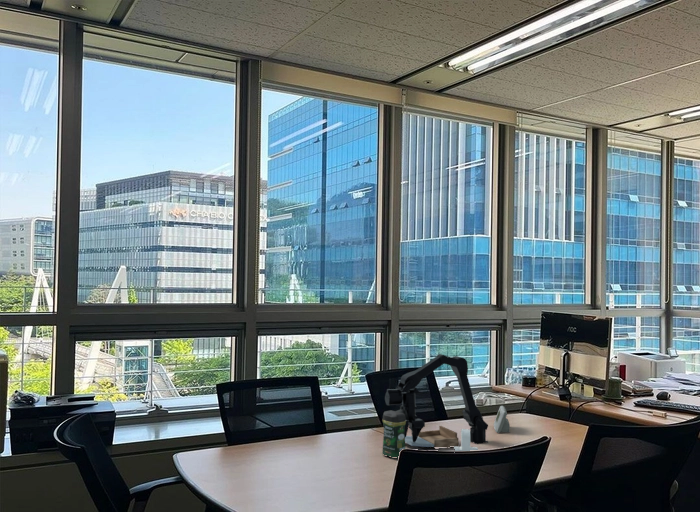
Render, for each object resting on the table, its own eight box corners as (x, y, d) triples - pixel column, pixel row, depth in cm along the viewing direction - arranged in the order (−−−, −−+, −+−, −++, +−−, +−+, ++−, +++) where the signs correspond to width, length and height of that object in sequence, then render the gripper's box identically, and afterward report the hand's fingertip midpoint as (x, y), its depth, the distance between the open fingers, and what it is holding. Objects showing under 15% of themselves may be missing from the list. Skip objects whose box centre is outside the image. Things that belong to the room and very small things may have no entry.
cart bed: (440, 438, 285) (440, 425, 285) (458, 447, 270) (458, 433, 270) (418, 440, 281) (418, 427, 281) (435, 449, 266) (435, 435, 266)
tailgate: (418, 436, 280) (396, 435, 276) (434, 444, 266) (411, 443, 262) (417, 439, 280) (396, 438, 276) (434, 447, 266) (411, 446, 262)
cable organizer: (453, 451, 264) (453, 427, 265) (477, 451, 263) (477, 428, 264) (454, 454, 259) (454, 430, 259) (478, 455, 258) (478, 431, 258)
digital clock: (494, 425, 311) (494, 404, 312) (512, 427, 308) (512, 405, 308) (489, 433, 296) (489, 410, 297) (508, 434, 293) (508, 412, 293)
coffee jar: (379, 455, 257) (379, 410, 257) (392, 452, 262) (393, 408, 262) (395, 460, 249) (395, 414, 250) (409, 457, 254) (409, 411, 255)
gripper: (383, 401, 277) (383, 436, 276) (401, 409, 259) (402, 446, 259) (405, 399, 281) (406, 433, 280) (425, 407, 263) (425, 444, 263)
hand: (409, 439), depth 270 cm, fingers open, 9 cm apart
